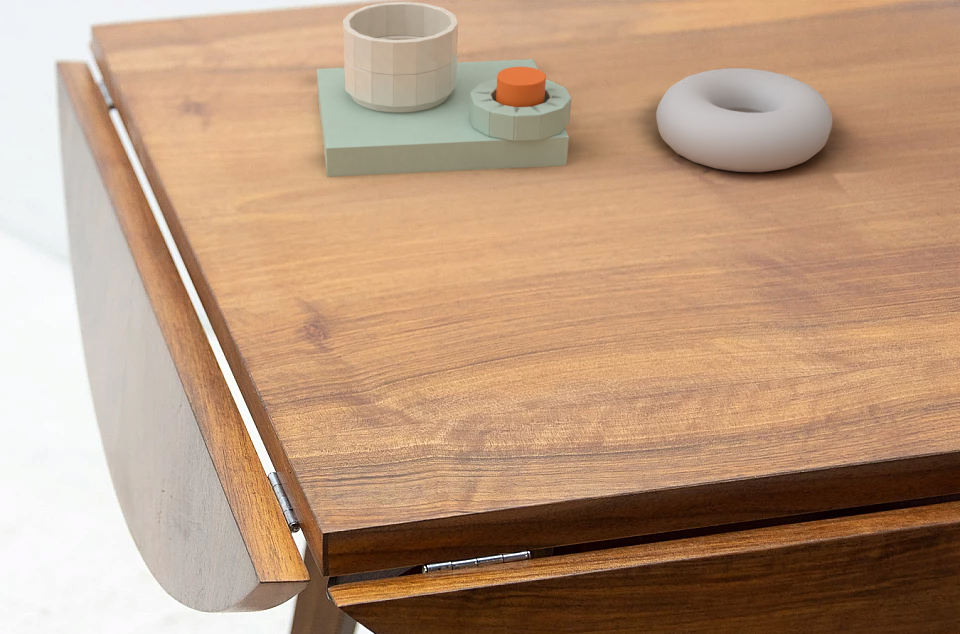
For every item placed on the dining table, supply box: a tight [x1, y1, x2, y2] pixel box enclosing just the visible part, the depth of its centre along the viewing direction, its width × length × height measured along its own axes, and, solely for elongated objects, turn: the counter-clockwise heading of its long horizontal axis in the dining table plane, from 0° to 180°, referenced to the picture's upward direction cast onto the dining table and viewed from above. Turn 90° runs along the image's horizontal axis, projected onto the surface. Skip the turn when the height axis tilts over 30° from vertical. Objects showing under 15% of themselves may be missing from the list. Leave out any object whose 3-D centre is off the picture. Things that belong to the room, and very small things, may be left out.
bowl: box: [342, 1, 459, 113], centre depth 84 cm, size 7×7×4 cm
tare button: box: [496, 67, 547, 107], centre depth 80 cm, size 3×3×2 cm
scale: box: [316, 58, 572, 178], centre depth 84 cm, size 14×12×4 cm
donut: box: [655, 67, 834, 173], centre depth 81 cm, size 10×4×10 cm
